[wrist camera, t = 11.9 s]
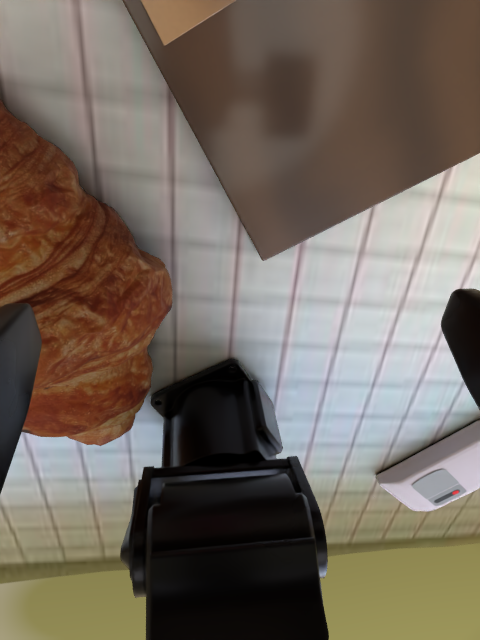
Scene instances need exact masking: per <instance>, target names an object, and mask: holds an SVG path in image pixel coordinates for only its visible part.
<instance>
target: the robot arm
mask: <svg viewBox="0 0 480 640" xmlns="http://www.w3.org/2000/svg"><path fill="white" fill-rule="evenodd" d="M441 328H442V332H443V334H444V336H445V338H446V341H447V343H448V345H449V348H450V350H451V352H452V355H453V357H454V359H455V362H456V364H457V366H458V369H459V371H460V373H461V375H462V378H463V380H464V382H465V384H466V386H467V388H468V390H469V392H470V394H471V395H472V397H473V399H474V401H475V402H476V404H477V406H478V408H479V409H480V291H479V290H476V289H457V290H455V291H454V292H453V293H452V294H451V296H450V299H449V301H448V304H447V307H446V309H445V312H444V314H443V317H442V320H441ZM41 346H42V339H41V334H40V331H39V328H38V324H37V321H36V318H35V315H34V311H33V309H32V307H31V305H29V304H28V303H9V304H5V305H4V306H2V307H0V493H1V491H2V488H3V485H4V482H5V479H6V476H7V473H8V470H9V467H10V464H11V461H12V458H13V455H14V452H15V449H16V446H17V443H18V441H19V438H20V435H21V432H22V429H23V426H24V423H25V420H26V417H27V413H28V410H29V406H30V401H31V397H32V392H33V387H34V382H35V377H36V372H37V367H38V362H39V357H40V352H41ZM231 366H235V367H234V368H230V367H231ZM156 400H161V401H156ZM151 405H152V406H153V407H154V408H155V409H156V411H157V412H158V413H159V414H160V415H161V416H162V417H163V418H164V427H163V448H162V468H154V466H152V467H144V469H143V475H142V480H139V482H138V486H137V487H136V488H135V490H134V499H133V508H132V515H131V519H130V522H129V525H128V528H127V531H126V534H125V537H124V540H123V543H122V546H121V554H120V557H121V561H122V562H123V563H124V564H125V566H126V567H127V568H128V569H129V570H130V578H131V580H132V583H133V592H134V596H135V598H136V597H146V640H328V639H329V635H328V628H327V623H326V617H325V613H324V607H323V600H322V591H321V583H320V578H324V577H325V575H326V572H327V562H328V560H327V543H326V536H325V529H324V525H323V520H322V516H321V513H320V509H319V507H318V504H317V502H316V499H315V497H314V495H313V492H312V490H311V488H310V485H309V483H308V481H307V478H306V476H305V474H304V471H303V469H302V467H301V464H300V462H299V460H298V457H297V456H293V457H287V459H276V454H279V453H281V451H282V449H283V447H282V442H281V438H280V434H279V429H278V425H277V421H276V416H275V412H274V408H273V403H272V401H271V400H270V398H269V397H268V395H267V394H266V392H265V391H264V390H263V388H262V387H261V385H260V384H259V382H258V381H256V380H254V379H253V380H251V378H250V377H249V376H248V374H247V373H246V371H245V370H244V368H243V367H242V366H241V364H240V363H239V361H237V360H235V359H230V360H227V361H225V362H223V363H220V364H218V365H216V366H214V367H212V368H209V369H207V370H205V371H203V372H201V373H199V374H196V375H194V376H192V377H190V378H188V379H186V380H183V381H181V382H179V383H177V384H175V385H172V386H170V387H168V388H166V389H164V390H162V391H159V392H157V393H155V394H153V395H152V397H151Z"/></svg>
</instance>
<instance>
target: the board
mask: <svg viewBox="0 0 480 640" xmlns="http://www.w3.org/2000/svg"><path fill="white" fill-rule="evenodd" d="M122 1H123V3H124V4H125V6H126V8H127V10H128V12H129V14H130V16H131V17H132V19H133V21H134V23H135V25H136V27H137V29H138V30H139V32H140V34H141V36H142V38H143V40H144V42H145V43H146V45H147V47H148V49H149V51H150V53H151V55H152V56H153V58H154V60H155V62H156V64H157V66H158V68H159V69H160V71H161V73H162V75H163V77H164V79H165V81H166V82H167V84H168V86H169V88H170V90H171V92H172V94H173V95H174V97H175V99H176V101H177V103H178V105H179V107H180V108H181V110H182V112H183V114H184V116H185V118H186V120H187V121H188V123H189V125H190V127H191V129H192V131H193V133H194V134H195V136H196V138H197V140H198V142H199V144H200V146H201V147H202V149H203V151H204V153H205V155H206V157H207V159H208V160H209V162H210V164H211V166H212V168H213V170H214V172H215V173H216V175H217V177H218V179H219V181H220V183H221V185H222V186H223V188H224V190H225V192H226V194H227V196H228V198H229V199H230V201H231V203H232V205H233V207H234V209H235V211H236V212H237V214H238V216H239V218H240V220H241V222H242V224H243V225H244V227H245V229H246V231H247V233H248V235H249V237H250V238H251V240H252V242H253V244H254V246H255V248H256V250H257V251H258V253H259V255H260V257H261V259H262V260H263V261H264V260H266V259H268V258H270V257H272V256H274V255H276V254H278V253H280V252H282V251H285V250H287V249H289V248H291V247H293V246H295V245H297V244H299V243H301V242H303V241H305V240H307V239H309V238H311V237H313V236H315V235H317V234H319V233H321V232H323V231H325V230H327V229H329V228H331V227H333V226H335V225H337V224H339V223H341V222H343V221H345V220H347V219H349V218H351V217H353V216H355V215H357V214H359V213H361V212H363V211H365V210H367V209H369V208H371V207H373V206H375V205H377V204H379V203H381V202H383V201H385V200H387V199H389V198H391V197H393V196H395V195H397V194H399V193H401V192H403V191H405V190H407V189H409V188H411V187H413V186H415V185H417V184H419V183H421V182H423V181H425V180H427V179H429V178H431V177H433V176H435V175H437V174H439V173H441V172H443V171H445V170H447V169H449V168H451V167H453V166H455V165H457V164H459V163H461V162H463V161H465V160H467V159H469V158H471V157H473V156H475V155H477V154H479V153H480V0H122Z"/></svg>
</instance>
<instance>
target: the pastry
mask: <svg viewBox="0 0 480 640" xmlns="http://www.w3.org/2000/svg"><path fill="white" fill-rule="evenodd" d="M9 303H28V304H29V305H31V307H32V309H33V311H34V315H35V318H36V321H37V324H38V328H39V331H40V334H41V339H42V346H41V352H40V357H39V362H38V367H37V372H36V377H35V382H34V387H33V392H32V397H31V401H30V406H29V410H28V413H27V417H26V420H25V423H24V426H23V429H22V432H26V433H30V434H33V435H37V436H40V437H63V436H67V437H68V438H71V439H74V440H77V441H79V442H82V443H84V444H87V445H92V444H96V445H99V446H101V445H104V444H106V443H108V442H110V441H112V440H114V439H116V438H118V437H120V436H122V435H123V434H124V433H126V432H127V431H129V430H130V429H131V428H132V426H133V422H134V419H135V413H137V412H138V411H139V410H140V408H141V407H142V405H143V403H144V399H145V397H146V395H147V393H148V392H149V389H150V388H151V377H152V372H153V365H152V360H151V358H150V356H149V354H148V352H147V351H148V347H147V346H148V345H149V344H150V342H151V340H152V338H153V337H154V335H155V332H156V330H157V329H158V328H159V326H160V324H161V322H162V321H163V319H164V318H165V316H166V315H167V314H168V312H169V311H170V310H171V307H172V285H171V279H170V276H169V273H168V270H167V269H166V268H165V264H164V263H163V262H162V261H161V260H160V259H159V258H157V257H154V256H152V255H150V254H149V253H147V252H145V251H142V250H140V249H139V248H138V247H137V245H136V244H135V241H134V238H133V236H132V234H131V233H130V231H129V229H128V228H127V226H126V225H125V223H124V222H123V220H122V219H121V218H120V216H119V215H118V214H117V213H116V212H115V210H114V209H113V208H112V207H109V206H108V205H107V204H105V203H102V202H100V201H97V200H96V199H95V198H94V197H93V196H91V195H89V194H87V193H86V192H85V190H84V189H82V188H81V186H80V185H79V177H78V171H77V169H76V167H75V165H74V163H73V162H72V161H71V160H70V159H69V158H68V157H67V156H66V155H65V154H64V153H63V152H62V151H61V150H60V149H59V148H58V147H56V146H55V145H53V144H52V143H50V142H48V141H46V140H44V139H43V138H41V137H40V136H39V135H37V133H36V132H35V131H34V130H33V129H32V128H31V127H29V126H28V125H27V124H26V123H25V122H21V121H20V120H18V119H17V118H15V117H14V116H13V115H12V114H11V113H10V112H9V111H8V110H7V109H6V108H5V106H4V104H3V103H2V101H1V100H0V307H2V306H4V305H5V304H9Z"/></svg>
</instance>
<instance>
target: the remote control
mask: <svg viewBox="0 0 480 640" xmlns="http://www.w3.org/2000/svg"><path fill="white" fill-rule="evenodd" d="M376 478H377V480H378V483H379V484H380V485H381V486H382V487H383V488H384V489H385V490H386V491H388V492H389V493H390V494H392V495H393V496H394V497H395V498H397V499H398V500H399V501H401V502H402V503H403V504H405V505H406V506H407V507H409V508H410V509H411V510H413V511H433V510H436V509H438V508H440V507H442V506H444V505H446V504H448V503H450V502H452V501H454V500H456V499H458V498H460V497H462V496H464V495H466V494H469V493H471V492H473V491H475V490H477V489H479V488H480V420H478V421H476V422H474V423H473V424H471V425H469V426H467V427H465V428H463V429H461V430H460V431H458V432H456V433H454V434H452V435H450V436H449V437H447V438H445V439H443V440H441V441H439V442H438V443H436V444H434V445H432V446H430V447H428V448H427V449H425V450H423V451H421V452H419V453H417V454H416V455H414V456H412V457H410V458H408V459H406V460H405V461H403V462H401V463H399V464H397V465H395V466H394V467H392V468H390V469H388V470H386V471H384V472H382V473H380V474H378V475H376ZM374 498H375V497H374Z"/></svg>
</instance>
